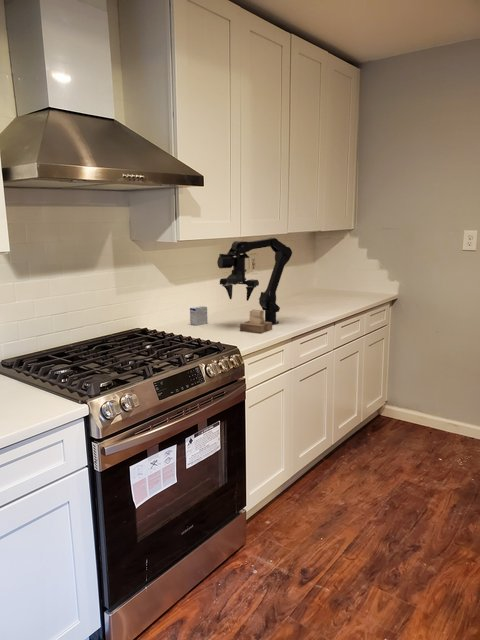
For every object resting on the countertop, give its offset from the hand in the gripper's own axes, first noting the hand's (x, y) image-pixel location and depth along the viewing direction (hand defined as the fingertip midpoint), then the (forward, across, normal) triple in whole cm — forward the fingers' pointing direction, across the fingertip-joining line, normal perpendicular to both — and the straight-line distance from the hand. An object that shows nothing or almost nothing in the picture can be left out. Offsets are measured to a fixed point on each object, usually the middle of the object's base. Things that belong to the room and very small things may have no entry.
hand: (239, 299), depth 248 cm
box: (+13, -20, -4) cm, 25 cm away
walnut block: (+14, +12, -4) cm, 18 cm away
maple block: (+10, +12, -4) cm, 16 cm away
